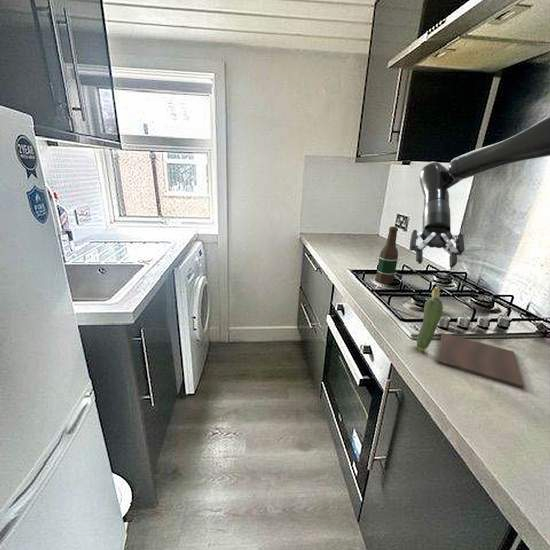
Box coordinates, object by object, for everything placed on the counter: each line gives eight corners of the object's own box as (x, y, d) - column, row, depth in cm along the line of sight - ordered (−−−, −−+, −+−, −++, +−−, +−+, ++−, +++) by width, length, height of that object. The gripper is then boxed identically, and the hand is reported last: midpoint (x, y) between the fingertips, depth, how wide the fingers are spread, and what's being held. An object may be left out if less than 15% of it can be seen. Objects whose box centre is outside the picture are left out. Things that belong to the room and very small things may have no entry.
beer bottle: (371, 280, 133) (380, 226, 124) (380, 276, 138) (389, 224, 129) (388, 285, 128) (398, 230, 119) (397, 281, 133) (407, 227, 124)
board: (513, 353, 84) (513, 351, 84) (522, 388, 71) (523, 385, 71) (441, 334, 92) (441, 332, 92) (438, 362, 80) (438, 360, 79)
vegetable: (419, 344, 87) (434, 280, 80) (434, 351, 84) (451, 285, 77) (411, 349, 85) (426, 284, 78) (427, 357, 82) (444, 289, 74)
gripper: (414, 208, 91) (413, 255, 85) (466, 212, 88) (469, 261, 82) (408, 222, 98) (406, 267, 92) (457, 226, 95) (458, 272, 89)
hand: (436, 264), depth 87 cm, fingers open, 8 cm apart
